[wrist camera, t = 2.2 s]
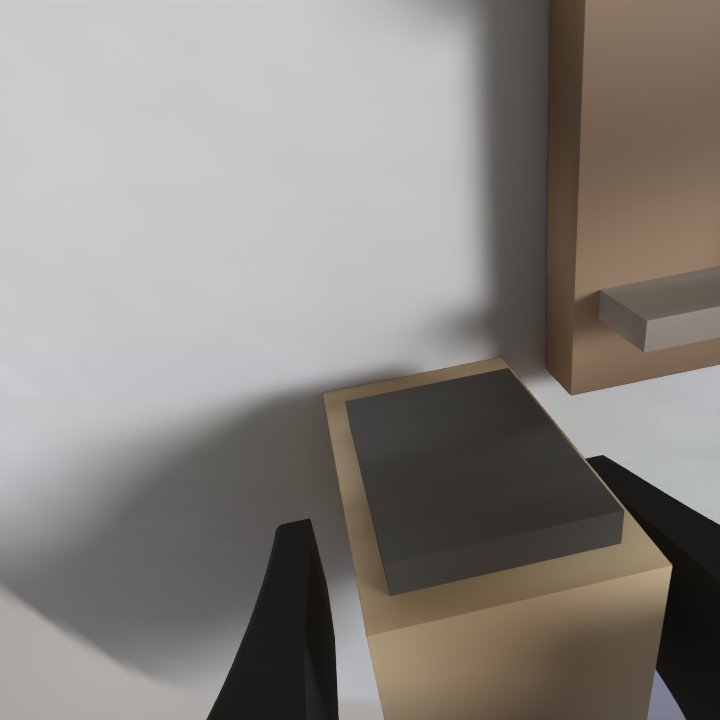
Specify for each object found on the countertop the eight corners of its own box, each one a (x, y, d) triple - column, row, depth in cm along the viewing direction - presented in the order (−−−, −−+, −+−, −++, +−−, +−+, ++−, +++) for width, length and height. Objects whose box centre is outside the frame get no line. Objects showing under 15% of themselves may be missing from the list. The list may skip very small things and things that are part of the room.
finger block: (500, 331, 12) (678, 531, 7) (505, 522, 15) (638, 772, 10) (317, 368, 12) (359, 604, 7) (356, 556, 15) (407, 831, 9)
